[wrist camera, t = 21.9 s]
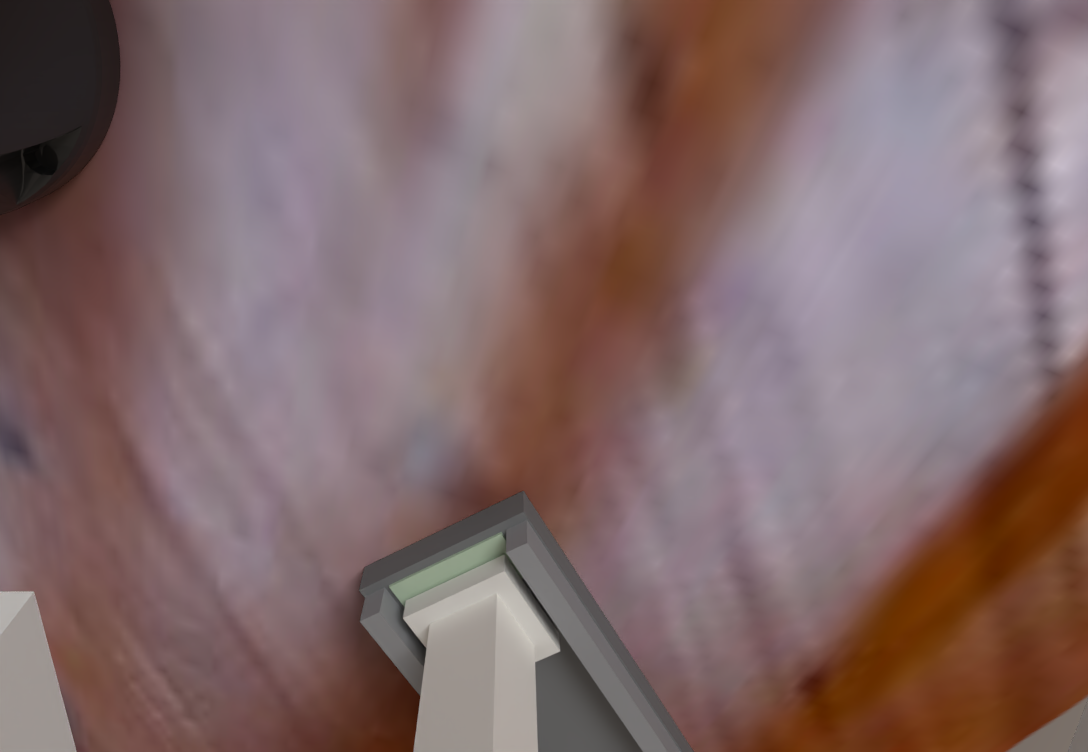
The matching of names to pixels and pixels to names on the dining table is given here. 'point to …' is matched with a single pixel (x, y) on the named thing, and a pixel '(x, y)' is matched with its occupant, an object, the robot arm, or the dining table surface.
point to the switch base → (584, 632)
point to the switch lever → (480, 661)
